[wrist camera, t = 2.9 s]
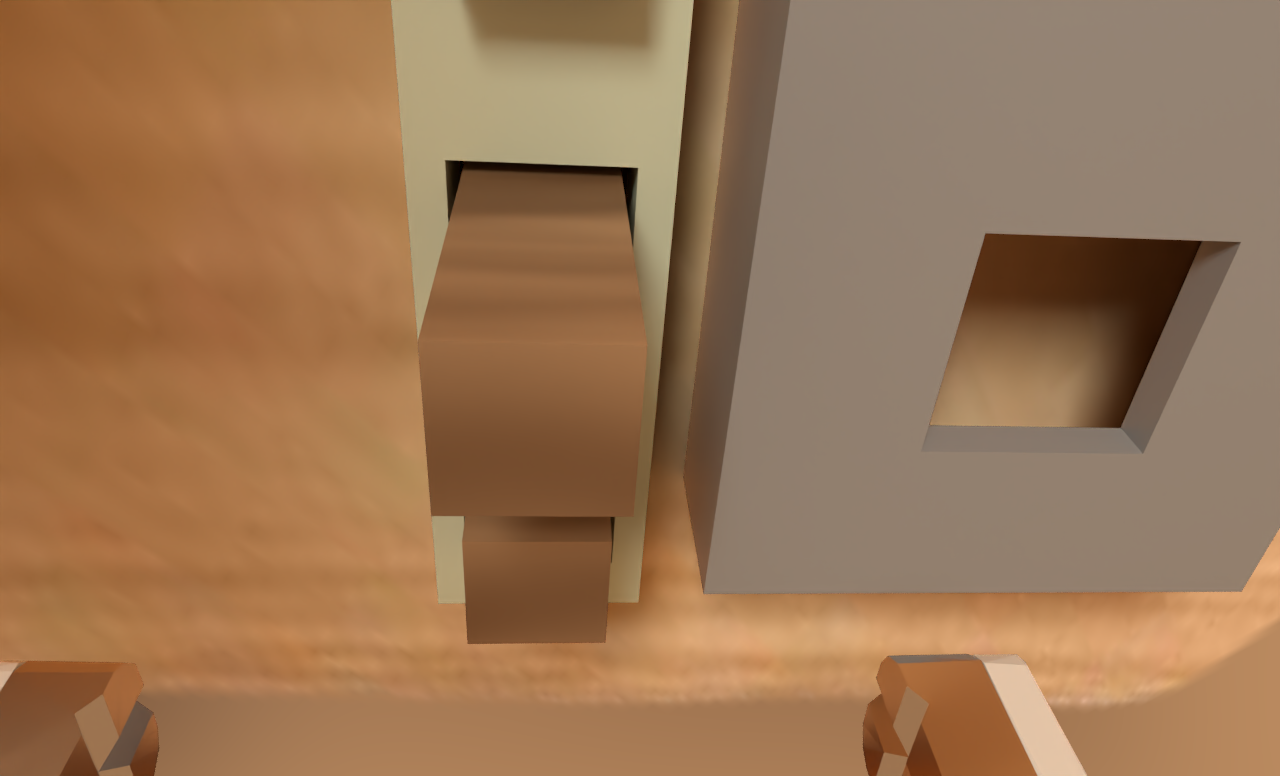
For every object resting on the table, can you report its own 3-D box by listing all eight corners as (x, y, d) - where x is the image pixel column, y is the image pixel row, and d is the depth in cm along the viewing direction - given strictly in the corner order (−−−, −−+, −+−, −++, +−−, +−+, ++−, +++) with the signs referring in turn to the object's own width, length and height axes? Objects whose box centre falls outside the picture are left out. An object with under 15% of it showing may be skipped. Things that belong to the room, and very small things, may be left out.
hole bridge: (748, -71, 18) (795, -33, 14) (1390, -29, 20) (1586, 16, 16) (683, 477, 26) (703, 594, 22) (1148, 480, 27) (1241, 591, 23)
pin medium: (481, 396, 24) (461, 541, 19) (602, 398, 24) (612, 541, 20) (484, 490, 26) (467, 643, 21) (597, 491, 26) (605, 642, 21)
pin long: (471, 134, 20) (417, 341, 13) (616, 140, 20) (647, 345, 13) (476, 266, 22) (431, 516, 14) (610, 270, 22) (633, 516, 15)
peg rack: (386, -389, 15) (358, -418, 13) (706, -359, 16) (728, -381, 14) (447, 539, 27) (438, 603, 24) (632, 539, 27) (638, 602, 25)
